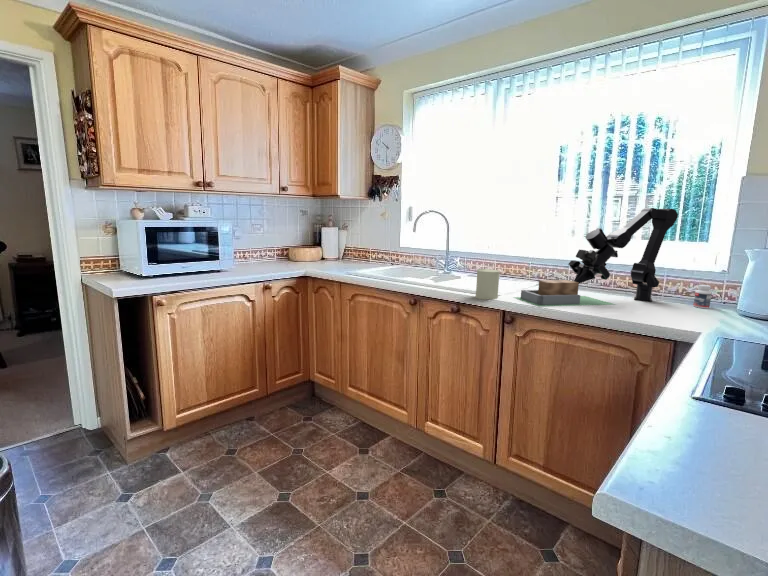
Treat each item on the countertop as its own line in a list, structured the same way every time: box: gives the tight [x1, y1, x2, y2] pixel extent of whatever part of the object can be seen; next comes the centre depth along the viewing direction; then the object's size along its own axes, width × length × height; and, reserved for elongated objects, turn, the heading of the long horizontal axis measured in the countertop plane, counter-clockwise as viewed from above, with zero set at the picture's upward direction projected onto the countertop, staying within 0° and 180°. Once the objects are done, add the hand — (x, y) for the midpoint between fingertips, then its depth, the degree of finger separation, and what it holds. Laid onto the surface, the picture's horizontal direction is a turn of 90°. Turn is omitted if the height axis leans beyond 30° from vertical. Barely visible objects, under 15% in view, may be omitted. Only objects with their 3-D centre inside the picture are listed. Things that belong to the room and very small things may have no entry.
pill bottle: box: [692, 284, 712, 309], centre depth 169 cm, size 5×5×9 cm
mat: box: [512, 295, 617, 308], centre depth 173 cm, size 35×18×1 cm, turn 104°
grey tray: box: [520, 289, 581, 305], centre depth 171 cm, size 18×13×4 cm
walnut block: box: [537, 279, 580, 295], centre depth 172 cm, size 14×6×8 cm, turn 104°
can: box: [475, 268, 501, 301], centre depth 176 cm, size 9×9×12 cm
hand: (574, 284), depth 173 cm, fingers closed
